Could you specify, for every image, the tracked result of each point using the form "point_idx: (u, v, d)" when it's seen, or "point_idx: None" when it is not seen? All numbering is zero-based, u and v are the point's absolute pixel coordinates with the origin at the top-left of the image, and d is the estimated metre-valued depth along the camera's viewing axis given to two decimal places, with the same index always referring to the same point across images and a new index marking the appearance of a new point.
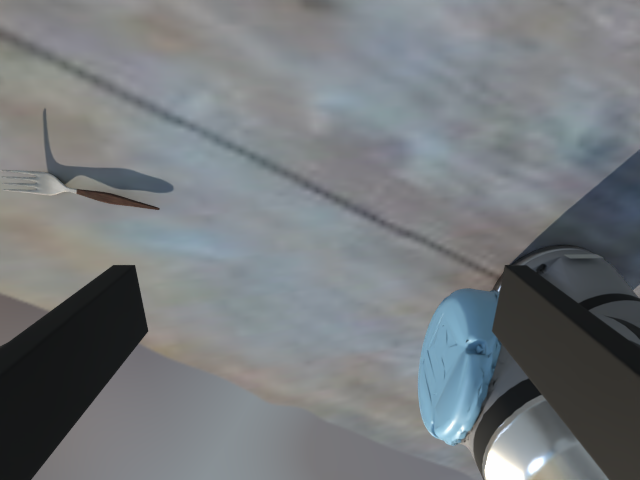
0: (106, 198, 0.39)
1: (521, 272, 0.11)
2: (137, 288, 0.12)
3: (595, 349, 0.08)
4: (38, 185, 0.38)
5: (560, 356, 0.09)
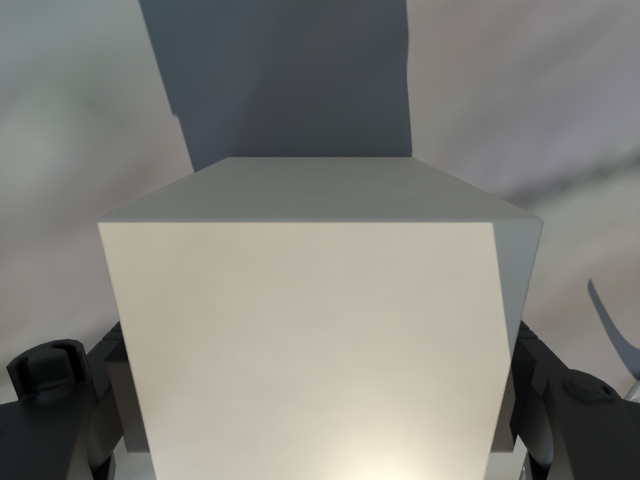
0: None
1: None
2: None
3: None
4: None
5: None
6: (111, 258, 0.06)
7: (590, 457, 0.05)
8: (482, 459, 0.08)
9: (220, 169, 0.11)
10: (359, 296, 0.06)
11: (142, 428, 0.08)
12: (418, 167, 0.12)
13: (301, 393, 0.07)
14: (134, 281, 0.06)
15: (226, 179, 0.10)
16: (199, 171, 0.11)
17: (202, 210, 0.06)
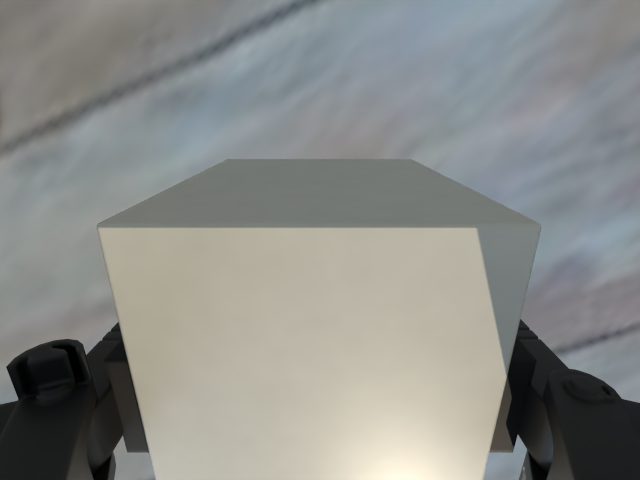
0: None
1: None
2: None
3: None
4: None
5: None
6: (111, 263, 0.06)
7: (590, 457, 0.05)
8: (481, 462, 0.08)
9: (220, 172, 0.11)
10: (357, 301, 0.07)
11: (142, 428, 0.08)
12: (417, 170, 0.12)
13: (300, 397, 0.07)
14: (134, 286, 0.06)
15: (226, 182, 0.10)
16: (199, 174, 0.11)
17: (201, 214, 0.07)
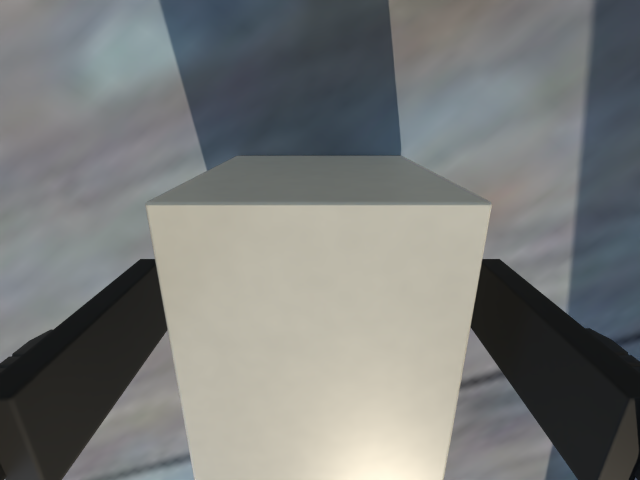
0: None
1: (493, 265, 0.12)
2: None
3: (552, 335, 0.09)
4: None
5: (523, 344, 0.10)
6: (155, 233, 0.08)
7: None
8: (452, 402, 0.10)
9: (232, 166, 0.13)
10: (349, 264, 0.08)
11: (26, 472, 0.07)
12: (404, 164, 0.13)
13: (303, 345, 0.09)
14: (172, 252, 0.08)
15: (239, 174, 0.11)
16: (215, 167, 0.13)
17: (225, 196, 0.08)
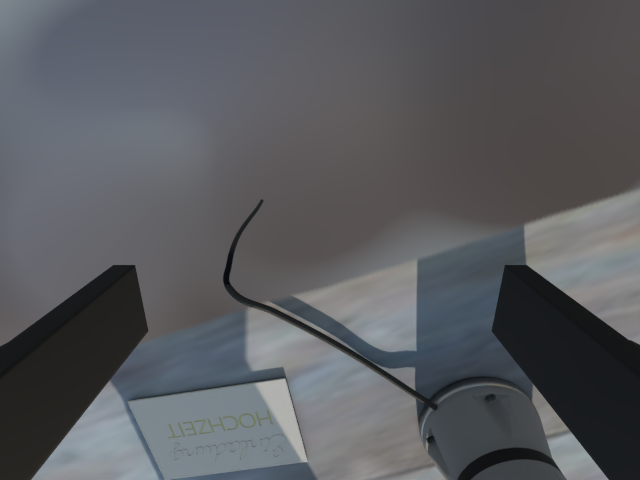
0: None
1: (521, 272, 0.11)
2: (137, 289, 0.12)
3: (595, 349, 0.08)
4: None
5: (560, 356, 0.09)
6: None
7: None
8: None
9: None
10: None
11: None
12: None
13: None
14: None
15: None
16: None
17: None
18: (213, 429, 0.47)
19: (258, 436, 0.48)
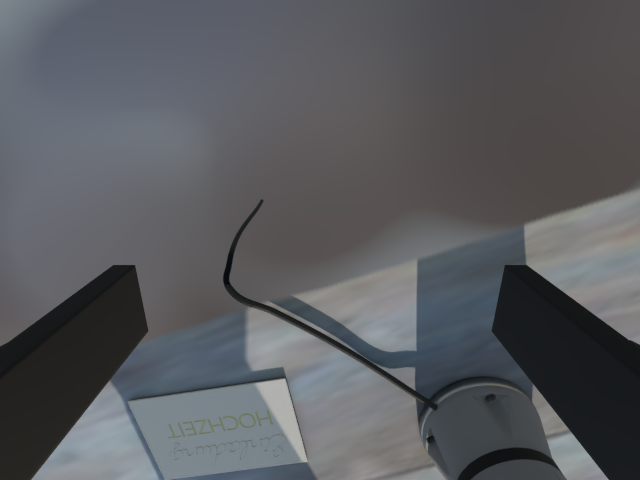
0: None
1: (521, 272, 0.11)
2: (137, 289, 0.12)
3: (595, 349, 0.08)
4: None
5: (560, 356, 0.09)
6: None
7: None
8: None
9: None
10: None
11: None
12: None
13: None
14: None
15: None
16: None
17: None
18: (213, 429, 0.47)
19: (258, 436, 0.48)
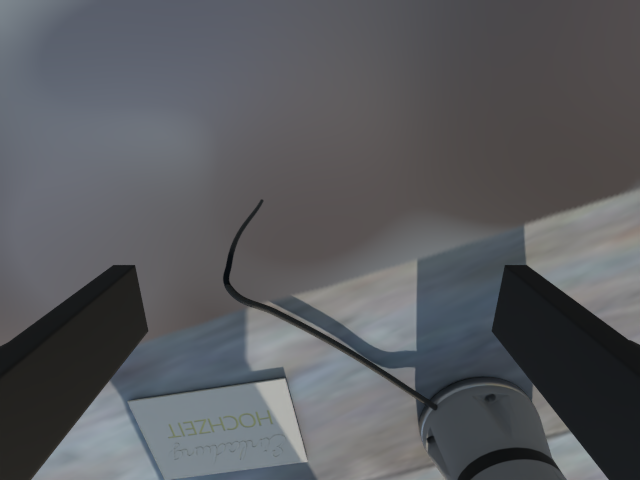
0: None
1: (521, 272, 0.11)
2: (137, 289, 0.12)
3: (595, 349, 0.08)
4: None
5: (560, 356, 0.09)
6: None
7: None
8: None
9: None
10: None
11: None
12: None
13: None
14: None
15: None
16: None
17: None
18: (213, 429, 0.47)
19: (258, 436, 0.48)
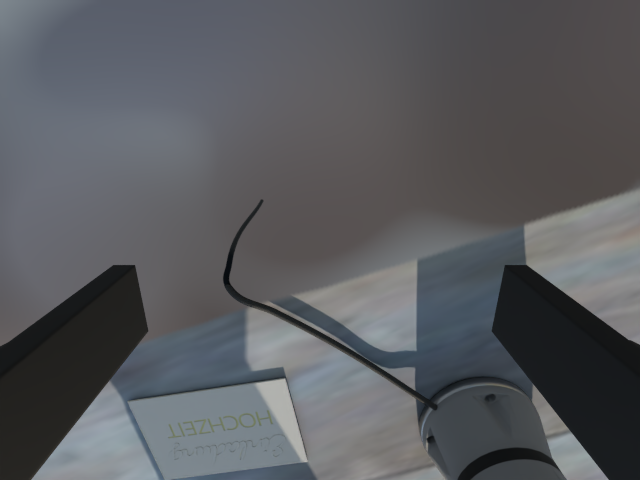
0: None
1: (521, 272, 0.11)
2: (137, 289, 0.12)
3: (595, 349, 0.08)
4: None
5: (560, 356, 0.09)
6: None
7: None
8: None
9: None
10: None
11: None
12: None
13: None
14: None
15: None
16: None
17: None
18: (213, 429, 0.47)
19: (258, 436, 0.48)
